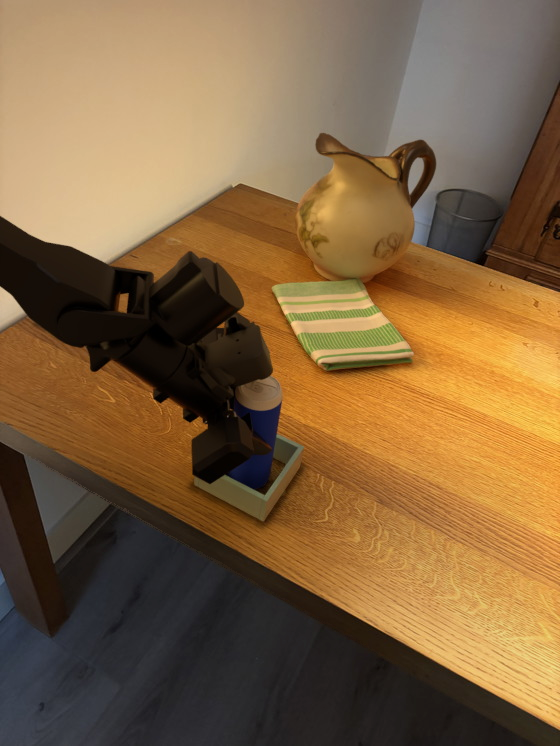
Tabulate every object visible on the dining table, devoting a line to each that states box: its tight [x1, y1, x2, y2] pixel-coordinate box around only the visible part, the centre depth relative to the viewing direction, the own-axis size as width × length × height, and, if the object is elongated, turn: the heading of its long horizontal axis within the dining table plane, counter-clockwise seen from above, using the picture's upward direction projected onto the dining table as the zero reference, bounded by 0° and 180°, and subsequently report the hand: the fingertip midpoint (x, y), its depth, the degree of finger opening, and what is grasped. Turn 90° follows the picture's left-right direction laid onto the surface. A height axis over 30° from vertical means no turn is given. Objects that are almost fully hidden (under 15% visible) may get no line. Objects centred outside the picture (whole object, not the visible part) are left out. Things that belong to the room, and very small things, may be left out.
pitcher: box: [294, 132, 437, 284], centre depth 102 cm, size 22×24×25 cm
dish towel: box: [271, 278, 415, 372], centre depth 93 cm, size 18×23×3 cm
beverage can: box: [227, 374, 284, 491], centre depth 63 cm, size 5×5×15 cm
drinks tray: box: [193, 433, 305, 523], centre depth 66 cm, size 10×10×4 cm
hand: (265, 434), depth 63 cm, fingers closed on beverage can, 5 cm apart
